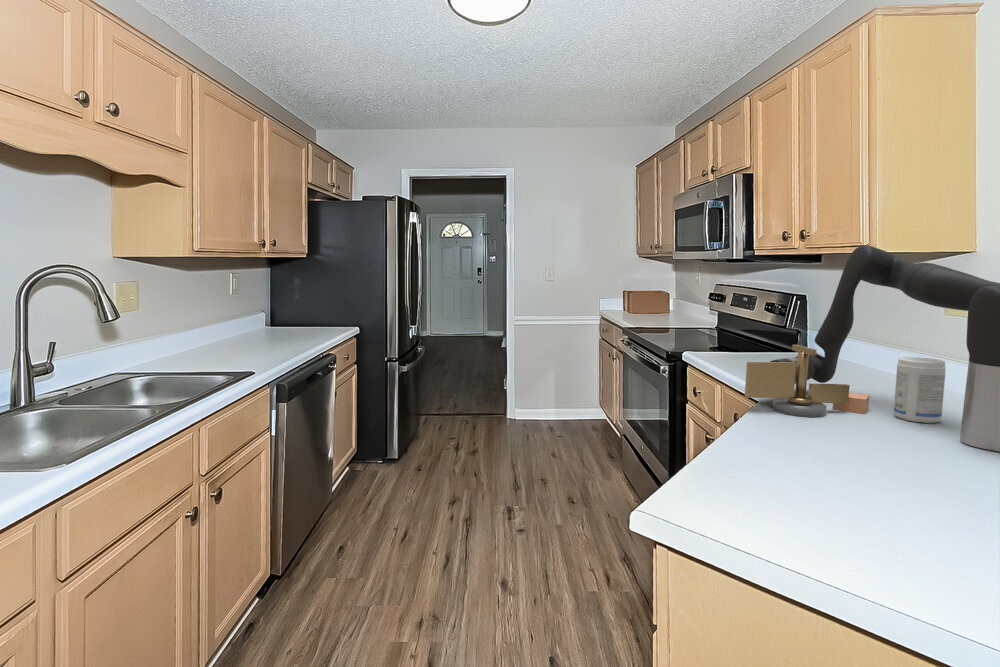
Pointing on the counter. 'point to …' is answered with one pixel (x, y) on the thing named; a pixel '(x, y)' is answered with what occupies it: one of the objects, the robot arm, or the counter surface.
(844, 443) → the counter surface
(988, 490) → the counter surface
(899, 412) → the supplement tub
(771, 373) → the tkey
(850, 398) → the orange block
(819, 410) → the base
